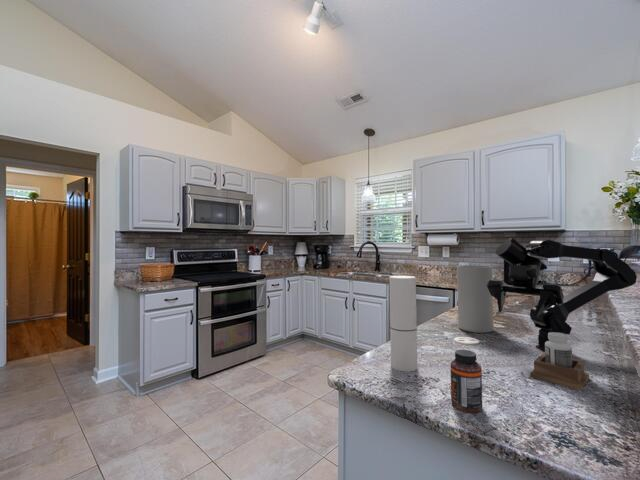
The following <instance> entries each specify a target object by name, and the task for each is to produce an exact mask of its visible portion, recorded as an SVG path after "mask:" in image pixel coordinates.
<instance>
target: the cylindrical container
mask: <svg viewBox="0 0 640 480" xmlns="http://www.w3.org/2000/svg"><path fill="white" fill-rule="evenodd" d="M388 277H389V320H390V321H389V323H390V327H389V328H390V333H389V334H390V338H389V339H390V367H391V368H392V369H393V370H395V371H399V372H415V371H416V370H417V369H418V339H417V338H418V332H417V331H418V330H417V327H418V326H417V284H416V283H417V279H416V276H413V275H390V276H388Z"/></svg>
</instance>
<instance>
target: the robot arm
mask: <svg viewBox="0 0 640 480" xmlns="http://www.w3.org/2000/svg"><path fill="white" fill-rule="evenodd" d="M495 254H496V255H497V256H498V257H500V258H501V259H502V260H504V261H505V262H507V263H509V264H510V265H509V267H508V268H509V271H508V277H510V283H511V284H512V285H508V284H507V285H506V284H505V283H504V281H503V280H499V279H498V280H496V279H492V280H489V281H488V283H487V287H488V290H489V292H490V294H491V296H493V298H494V299H496V302H497V309H498V312H499V313H502V311H503V309H504V306H505V302H506V295H507V293H512V294H520V295H525V296H526V295H527V296H537V297H539V299H538V302H537V303H535V304H533V307H532V308H530V312H529V317H530V319H531V321H532V322H533V324H534V326H535V327H534V328H538V335H537V339H538V340H537V341H538V343H537V345H535V348H537V349H540V350H541V351H544V352H545V342H546V341H549V339H548V333H549V332H557V333H563V334H566V335H570V334H571V332H572V329H573V328H572V327H571V326H570V324H568V323H567V322H566V321H567V320H568V317H569V315H570V314H571V313H573V312H574V311H576V310H577V309H579V308H582V307H583V306H585V305H587V304H588V303H590V302H592V301H594V300H596V299H598V297H601V296H602V295H604V294H607V292H611V291H616V290H617V291H618V290H623V289H625V288H629V287H631V286H633V285H635V284H636V283H637V279H638V276H637V273H636V271H635V270H634V269H633V268H631V267H630V266H629V264H628V263H627V262H625V261H624V260H622V259H621V258H619V257H618V256H616V255H615V253H614V252H612V250H611V249H609V248H595V247H594V248H593V247H582V246H576V245H575V246H574V245H566V244H563V243H561V242H558V241H556V240H551V239H537V240H536V239H535V240H531V241H530V242H529V243H528V244H527V245H522V244H521V243H519V242H518V241H517V240H516V239H515V238H511V237H510V238H508V239H507V240H506V241H505V242H503V243H501V244H500V245H499V246H498V247H497V248H496V250H495ZM556 258H557V259H558V258H569V259H570V258H571V259H580V260H588V261H591V262H592V265H593V269H594V271H596V273H595V274H594V277H593V279H592V280H591V281H589V282H587V283H585V284H583V285H581V286H579V287H578V288H576V289H575V290H572V291H571V292H569V293H568V294H566V295H564V293H563V289H562V287H561V286H560V285H559V284H555V283H554V284H553V283H543V284H542V288H538V287H537V285H539V281H538V279H539V275H540V272H541V271H545V270H547V269H548V266H547V265H546V264H545V263H544V262H543V261H542V260H541V259H556Z"/></svg>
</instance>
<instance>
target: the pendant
mask: <svg viewBox="0 0 640 480" xmlns="http://www.w3.org/2000/svg"><path fill="white" fill-rule="evenodd" d="M453 341H455V342H454V343H456V344H459V345H464V346H465V345H466V346H467V345H468V346H476V345H479V344H480V342H485V343H486V340H479V339H477V338H474V337H469V336H457V337H454V339H453Z"/></svg>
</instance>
